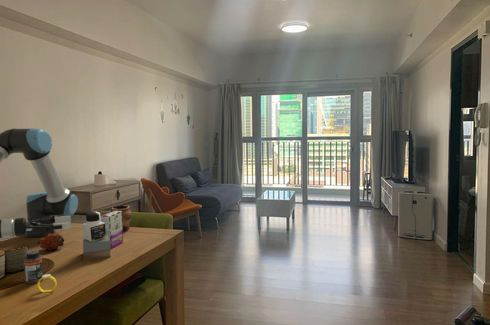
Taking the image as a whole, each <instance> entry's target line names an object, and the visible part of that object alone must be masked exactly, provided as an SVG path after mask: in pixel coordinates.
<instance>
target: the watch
mask: <svg viewBox="0 0 490 325" xmlns="http://www.w3.org/2000/svg"><path fill="white" fill-rule="evenodd" d="M42 279H43V280H47V279H50V280H52V281H53V284H54V286H53V288H52V289H46V290H44V289H42V287H41V282H42V281H43V280H42ZM41 280H42V281H41ZM36 284H37V285H36V288H37V290H38V291H39V292H41V293H43V294H44V293H52V292H54V290H55V289H56V288H57V284H58V283H57V279H56V278H55V277H54V276H52V274H50V273H49V274H43V276H42V278H41V279H40V280H39V281H38V283H36Z"/></svg>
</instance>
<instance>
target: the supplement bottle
mask: <svg viewBox="0 0 490 325" xmlns="http://www.w3.org/2000/svg"><path fill="white" fill-rule="evenodd" d="M39 252H40V251H38V250H30V251H27V252H26V253H25V254H26V258H25V259H24V260H23V267H24V280H25V282H24V283H25V284H27V285H34V284H37V283H38V281H39V280H40V279H41V278H42V276H43V275H44V273H43V272H44V271H43V258H42V256H40V253H39ZM43 280H44V279H42V280H41V281H40V282H42V281H43Z"/></svg>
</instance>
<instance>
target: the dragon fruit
mask: <svg viewBox="0 0 490 325" xmlns="http://www.w3.org/2000/svg"><path fill="white" fill-rule="evenodd" d="M64 242H65V238H64V237H63V236H62V235H60V234H59V233H57V232H56V233H54V234H47V236H44V238H43V237H42V239H39V240H38V241H37V245H40V247H39V248H41V249H42V250H44V249H46V250H48V251H49V252H50V251H53V250H58V249H59V248H60V247H63V246H65V243H64Z"/></svg>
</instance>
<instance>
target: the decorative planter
mask: <svg viewBox="0 0 490 325" xmlns="http://www.w3.org/2000/svg"><path fill="white" fill-rule="evenodd" d="M112 211H122V228H123V232H125V231H128V230H130V228H131V227H130V222H131V220H132V212H131V209H130V205H125V204H122V205H115V206H112V207H111V209H110V212H112ZM110 212H109V213H110Z"/></svg>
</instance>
